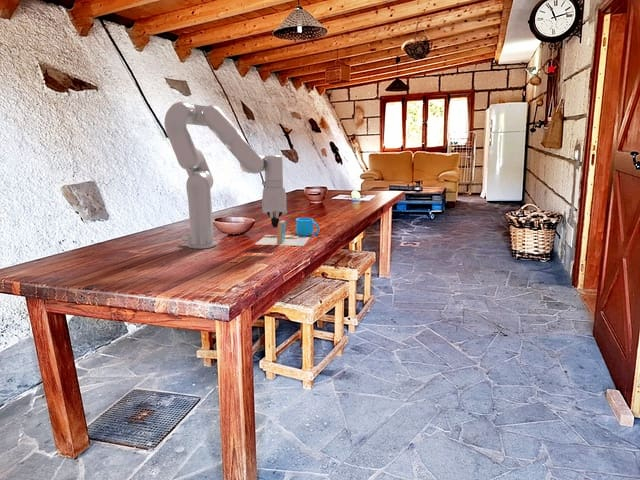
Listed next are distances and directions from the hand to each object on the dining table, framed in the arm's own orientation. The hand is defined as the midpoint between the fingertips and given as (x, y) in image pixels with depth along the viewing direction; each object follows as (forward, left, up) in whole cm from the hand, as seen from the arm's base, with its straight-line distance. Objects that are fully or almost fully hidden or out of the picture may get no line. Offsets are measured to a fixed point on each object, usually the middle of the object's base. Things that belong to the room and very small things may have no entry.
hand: (275, 226), depth 203 cm
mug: (+11, +19, -8) cm, 23 cm away
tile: (+2, 0, -7) cm, 7 cm away
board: (+3, +3, -8) cm, 9 cm away
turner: (+1, +9, -7) cm, 12 cm away
